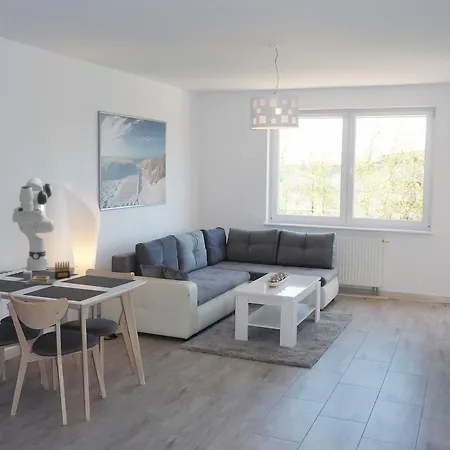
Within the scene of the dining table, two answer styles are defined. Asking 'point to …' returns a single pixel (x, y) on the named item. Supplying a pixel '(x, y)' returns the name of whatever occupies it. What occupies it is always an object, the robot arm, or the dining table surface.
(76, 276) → the dining table surface
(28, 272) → the connector
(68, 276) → the ammunition clip
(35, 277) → the end holder
